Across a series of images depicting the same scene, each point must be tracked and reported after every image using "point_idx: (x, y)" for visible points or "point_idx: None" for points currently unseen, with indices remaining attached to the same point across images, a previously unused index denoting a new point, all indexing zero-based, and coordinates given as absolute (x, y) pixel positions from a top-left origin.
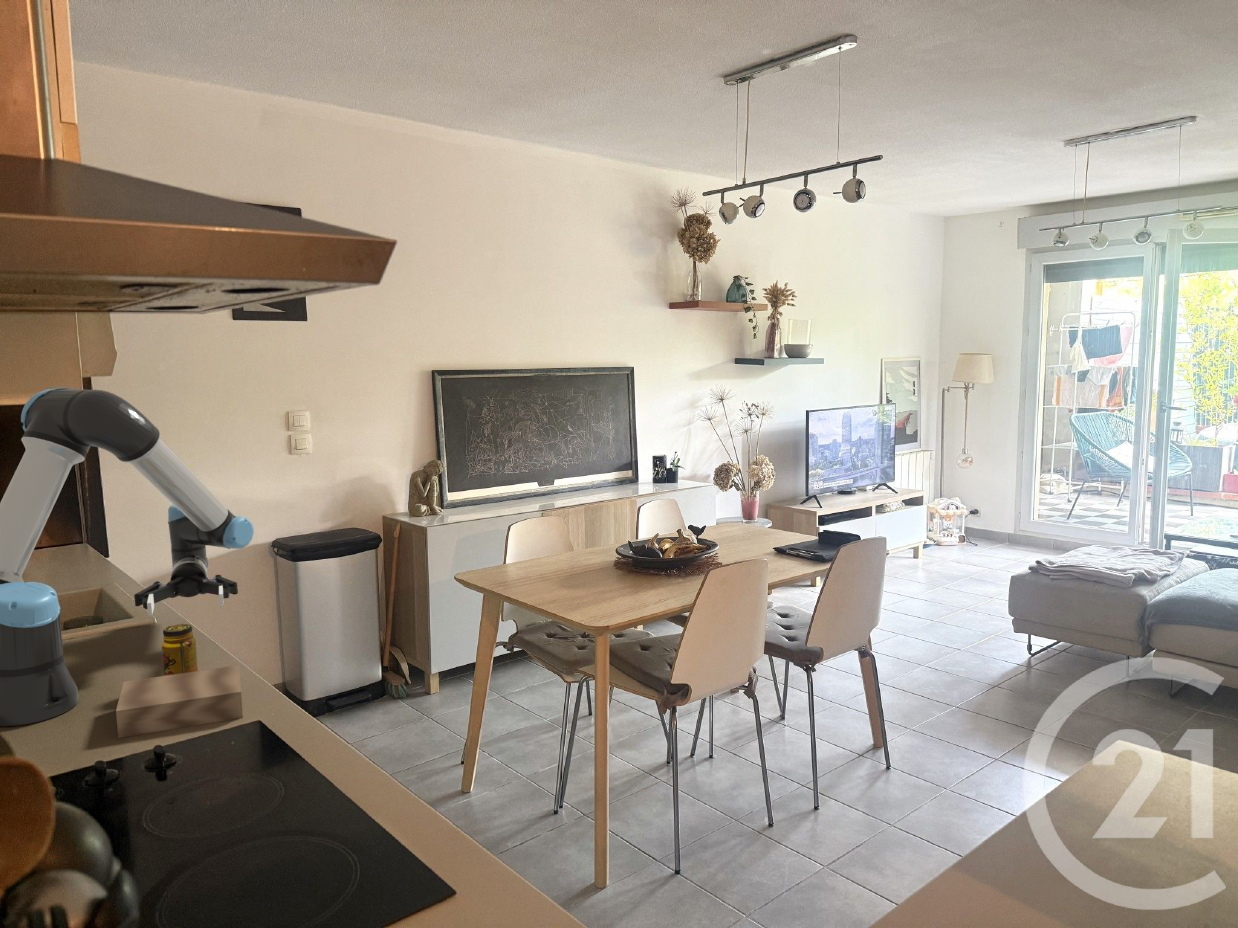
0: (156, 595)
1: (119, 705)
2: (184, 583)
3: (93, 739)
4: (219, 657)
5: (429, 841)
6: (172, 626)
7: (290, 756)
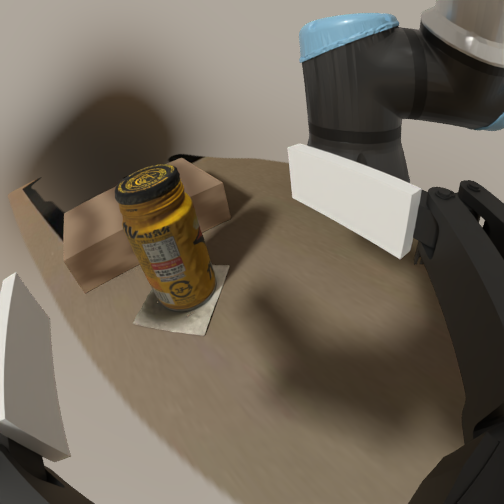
0: (446, 252)
1: (185, 162)
2: (481, 491)
3: None
4: (178, 437)
5: (18, 199)
6: (162, 178)
7: (49, 215)
